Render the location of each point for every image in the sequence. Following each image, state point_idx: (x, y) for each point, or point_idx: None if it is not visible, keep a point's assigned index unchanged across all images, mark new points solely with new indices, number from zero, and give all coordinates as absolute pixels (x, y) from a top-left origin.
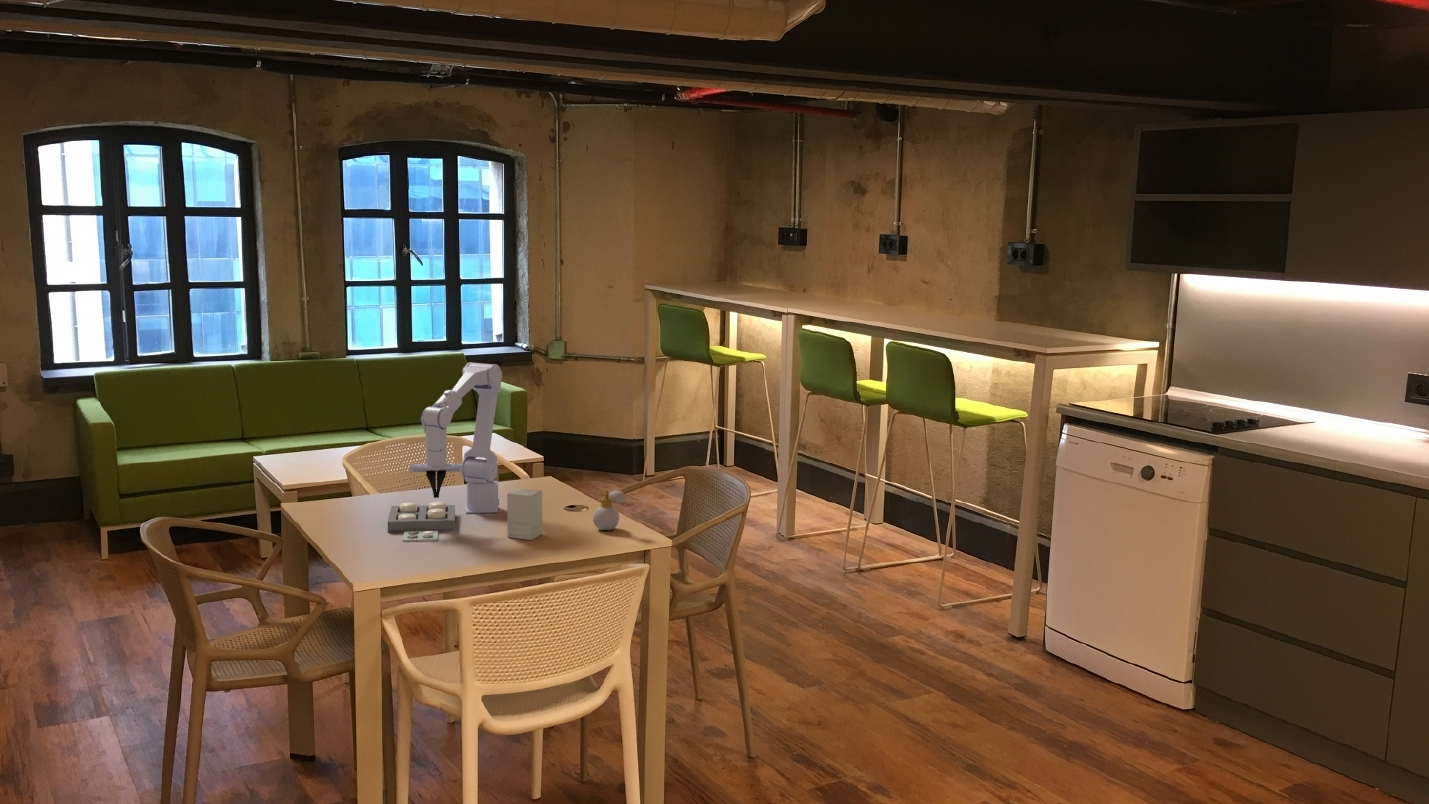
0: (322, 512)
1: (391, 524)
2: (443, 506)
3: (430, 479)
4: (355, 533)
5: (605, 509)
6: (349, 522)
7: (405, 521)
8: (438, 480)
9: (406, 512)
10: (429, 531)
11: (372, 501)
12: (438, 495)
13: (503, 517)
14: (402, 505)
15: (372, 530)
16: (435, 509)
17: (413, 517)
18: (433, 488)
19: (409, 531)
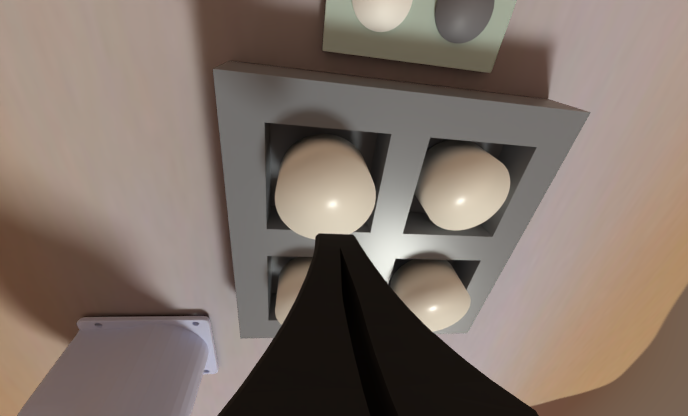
0: (597, 339)
1: (561, 106)
2: (285, 288)
3: (460, 378)
4: (667, 110)
5: None
6: (593, 255)
7: (504, 103)
8: (331, 367)
9: (441, 265)
10: (374, 17)
11: None
12: (319, 242)
13: (29, 263)
14: (463, 298)
15: (585, 146)
16: (329, 225)
17: (446, 166)
18: (376, 284)
19: (470, 59)
